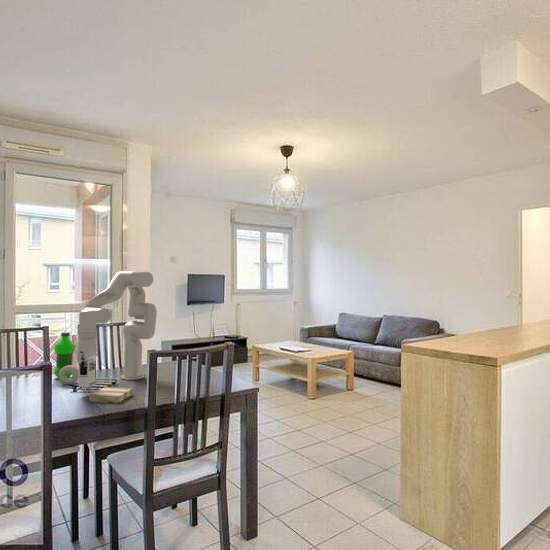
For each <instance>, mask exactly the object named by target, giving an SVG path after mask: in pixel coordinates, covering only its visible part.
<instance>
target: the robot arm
mask: <svg viewBox="0 0 550 550" xmlns="http://www.w3.org/2000/svg"><path fill="white" fill-rule="evenodd" d="M153 281H154V275H153V274H152V273H151V272H149V271H137V270H136V271H133V270H132V271H119V272H117V273H115V274H114V276H113V277H112V278H111V281H110V282H109V283H108V285H107V287H105V289H104V290H103V291H102V292H99V293H98V294H96V295H94V296H93V297H91V299H89V300H88V301H87V303H86V304H85V305H84V306H83V308H82V310H80V311H79V313H78V315H79V317H78V325H79V326H78V341H77V349H76V350H77V351H76V360H77V361H76V362H77V363H79V367H80V375H87V367H86V364H87V360H88V357H90V356H93V355H96V357H97V356H98V353H97V352H98V351H97V348H98V347H97V346H98V345H97V324H106V323H109V322H110V321H111V319H112V313H111V311H110V309H108V308H104V307H103V306H106V305H108V304H109V305H110V304H112V303H115V302H116V301H119V300H120V299H121V297H122V296H123V294H124V292H125V291H126V290H127V288H128V291H129V301H128V302H129V303H128V311H127V312H128V313H127V314H128V317H129V318H130V319H133V320H141V321H128V322H126V323H125V324H124V326H123V328H122V334H123V338H124V341H123V342H124V352H123V353H124V356H123V359H124V360H123V374H122V375H120V379H122V380H127V381H135V380H141V379H143V378H145V374H144V373H142V371H144V368H143V367H142V365H143V362H142V361H143V343H142V341H141V340H151V339H152V338H153V337H154V336H155V331H156V325H157V314H158V313H157V312H158V311H157V307H156V305H155V304H154V303H151V302H146V291H145V290H144V288H149V287H151V286H152V285H153V283H154V282H153ZM102 307H103V308H102ZM142 320H143V321H142ZM82 359H84V360H82ZM83 361H85V362H84V363H83Z"/></svg>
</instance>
